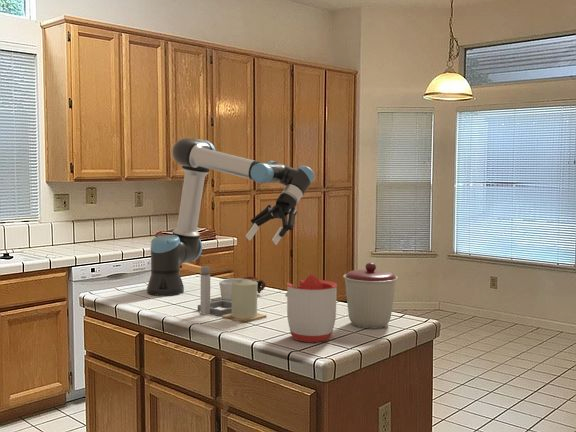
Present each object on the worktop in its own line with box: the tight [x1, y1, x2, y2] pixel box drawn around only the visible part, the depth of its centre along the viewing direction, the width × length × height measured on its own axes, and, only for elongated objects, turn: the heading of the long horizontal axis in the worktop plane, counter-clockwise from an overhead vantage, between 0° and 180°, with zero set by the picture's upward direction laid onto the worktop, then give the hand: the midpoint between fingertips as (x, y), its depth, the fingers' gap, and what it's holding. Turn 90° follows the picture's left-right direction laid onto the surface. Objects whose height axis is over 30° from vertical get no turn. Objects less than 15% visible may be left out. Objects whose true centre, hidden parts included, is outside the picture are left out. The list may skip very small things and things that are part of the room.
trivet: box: [221, 312, 267, 324], centre depth 215 cm, size 11×11×1 cm
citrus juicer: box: [285, 273, 338, 344], centre depth 190 cm, size 16×17×20 cm
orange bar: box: [181, 262, 211, 275], centre depth 223 cm, size 3×16×2 cm, turn 39°
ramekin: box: [218, 278, 251, 302], centre depth 246 cm, size 13×13×7 cm
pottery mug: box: [241, 276, 266, 294], centre depth 256 cm, size 12×10×8 cm
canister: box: [342, 262, 399, 329], centre depth 206 cm, size 18×18×21 cm
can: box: [231, 280, 258, 318], centre depth 214 cm, size 9×9×12 cm
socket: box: [197, 274, 232, 317], centre depth 223 cm, size 12×15×14 cm
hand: (260, 240), depth 228 cm, fingers open, 13 cm apart
